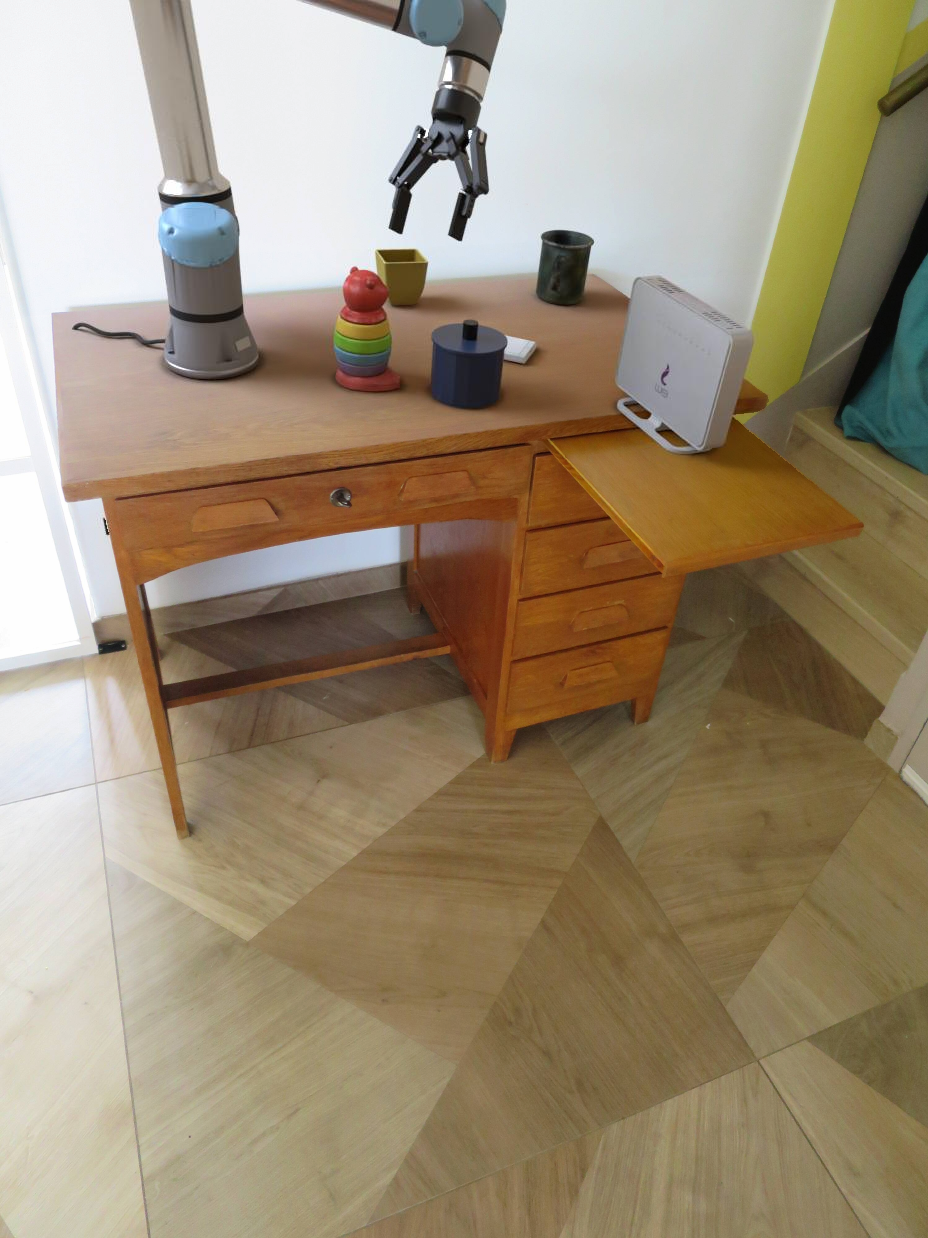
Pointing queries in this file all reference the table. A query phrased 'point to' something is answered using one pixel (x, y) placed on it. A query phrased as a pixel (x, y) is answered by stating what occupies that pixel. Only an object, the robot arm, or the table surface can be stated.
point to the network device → (681, 364)
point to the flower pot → (402, 274)
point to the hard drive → (518, 349)
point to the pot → (466, 378)
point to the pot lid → (469, 339)
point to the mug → (563, 266)
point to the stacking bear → (364, 335)
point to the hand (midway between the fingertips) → (424, 234)
